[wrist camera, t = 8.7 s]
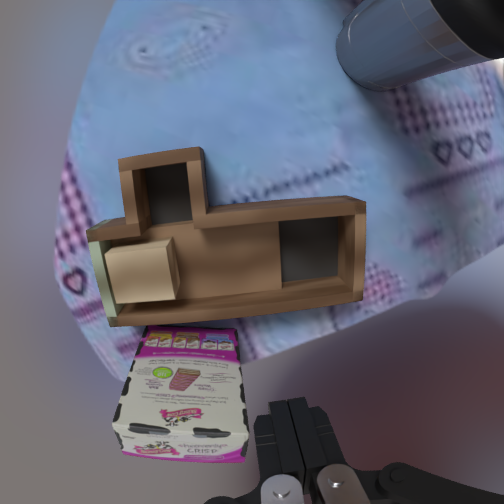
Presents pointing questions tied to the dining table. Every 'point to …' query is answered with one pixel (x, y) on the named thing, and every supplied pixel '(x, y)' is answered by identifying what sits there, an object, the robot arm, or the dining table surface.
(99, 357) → the dining table surface
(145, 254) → the maple block
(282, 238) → the tray
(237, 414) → the candy bar box
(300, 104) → the dining table surface
